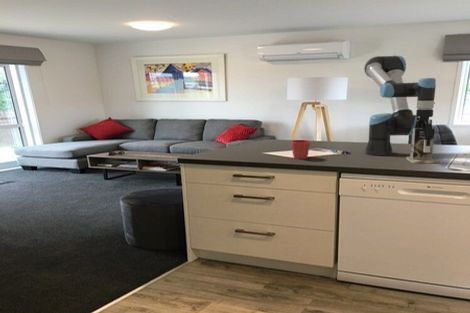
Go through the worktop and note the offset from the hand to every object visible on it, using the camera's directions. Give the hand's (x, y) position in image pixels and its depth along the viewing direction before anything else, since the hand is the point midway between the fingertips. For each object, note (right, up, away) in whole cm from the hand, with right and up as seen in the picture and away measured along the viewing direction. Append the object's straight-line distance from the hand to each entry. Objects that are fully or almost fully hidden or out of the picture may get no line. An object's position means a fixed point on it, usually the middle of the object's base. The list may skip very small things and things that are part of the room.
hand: (421, 149), depth 176 cm
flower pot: (-60, -4, +18) cm, 63 cm away
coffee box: (0, -5, +1) cm, 5 cm away
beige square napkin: (0, -6, +1) cm, 6 cm away
